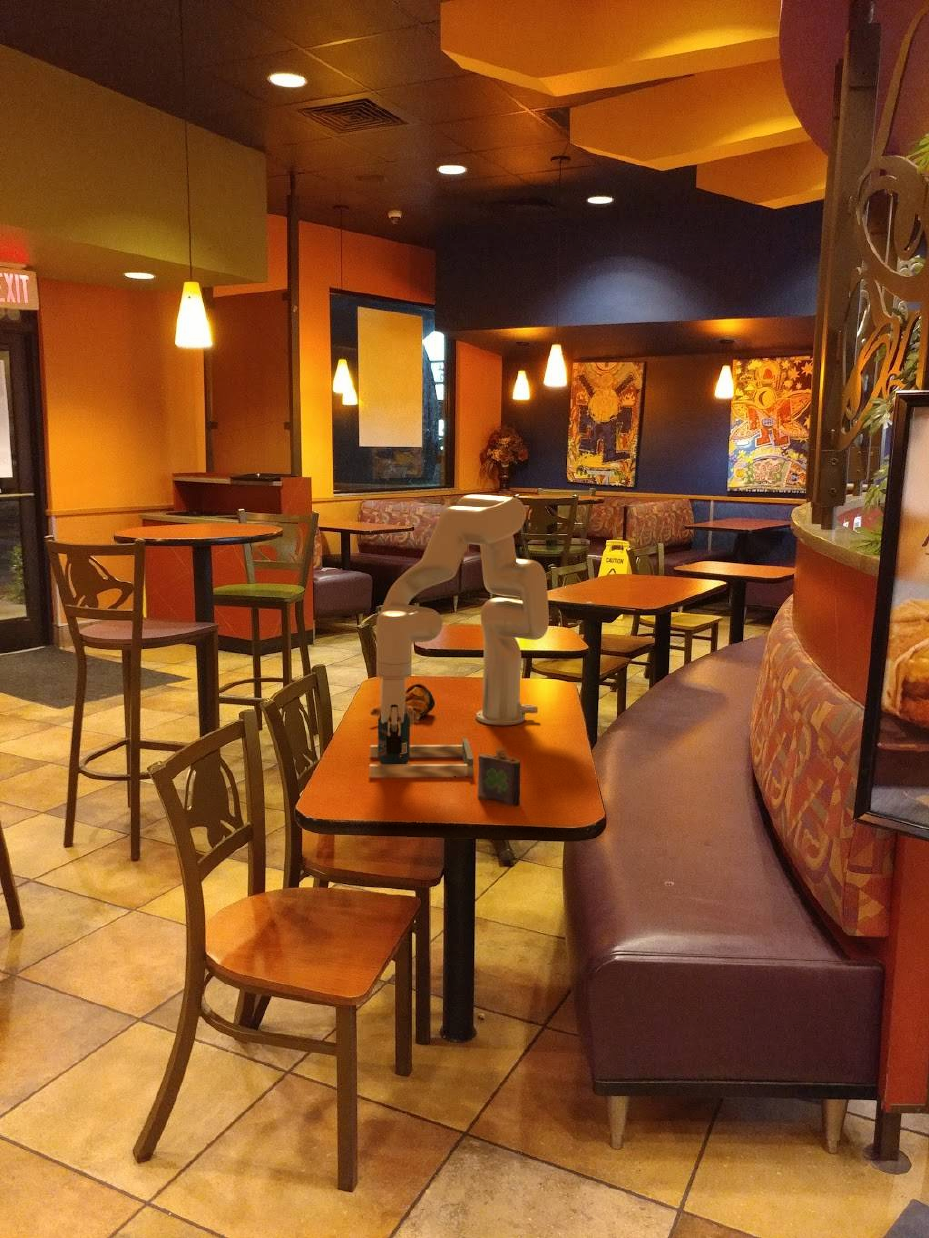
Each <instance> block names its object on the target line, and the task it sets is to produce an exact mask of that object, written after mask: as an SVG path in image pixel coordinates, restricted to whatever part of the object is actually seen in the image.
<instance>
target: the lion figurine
mask: <svg viewBox="0 0 929 1238" xmlns="http://www.w3.org/2000/svg"><path fill="white" fill-rule="evenodd" d="M405 709H406V710H407V714H408V716H409V718H410V728H411V727H412V726H414V724H415V723H418V722H419V720H420V718H421V717H420V715H419V714H418V713H416V712H415V711H414V710H413V707H412V706H406V707H405Z"/></svg>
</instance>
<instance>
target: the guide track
mask: <svg viewBox="0 0 929 1238" xmlns="http://www.w3.org/2000/svg"><path fill="white" fill-rule="evenodd" d="M461 741H462V743H461V744H410V758H462V761H463V763H414V764H413V763H410V764H409V763H407V764H381V763H378V764H374V763H373V764H372V763H371V764H369V769H368V770H369V774H368V775H369V776H368V777H369V778H370V779H371V778H377V779H378V778H379V779H381V778H467V777H466V776H473V777H474V756H473V752H472V749H471V745H470V742H469V738H467V737H466V738H465V737H464V738H462V740H461ZM369 747H370V749H369V750H370V752H369V756H370V758H378V744H370V745H369ZM454 776H456V777H454Z"/></svg>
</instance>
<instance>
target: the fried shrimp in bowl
mask: <svg viewBox="0 0 929 1238" xmlns="http://www.w3.org/2000/svg"><path fill="white" fill-rule="evenodd" d="M435 705H436V702H435V699H434V697H433V694H432V692H431V691H430V690H429V689H428V688H427V687H426V686H425V685H424V684H422V683H415V684H412V685H411V686H409V687H408V688H407V689H406V698H405V707H406V706H412V707H413V710H414V711H415V712H416V713H418V714H419V715H420V718H421V717H425V716H427V715H428V714H429V713H430V712H431V711H432V710H433V709H434V707H435ZM380 714H381V706H378V707H376V708H372V709H371V711H370V716H375V717H379V716H380Z"/></svg>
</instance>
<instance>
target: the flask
mask: <svg viewBox="0 0 929 1238" xmlns="http://www.w3.org/2000/svg"><path fill="white" fill-rule="evenodd" d="M505 750H506V749H505V748H499V749H498V750H495V753H497V754H496V755H494V754H490V753H481V754H479V755H478V775H477V776H478V777H477V798H478V799H481V800H483V801H485V800H486V801H489V802H492V803H500V804H504V805H506V806H507V805H508V806H511V807H518V806H520V803H521V802H520V800H521V787H520V786H521V761H520V760H519V759H515V758H514V757H512V756H510V757H509V756H508V755H507V753H504V751H505Z"/></svg>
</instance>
